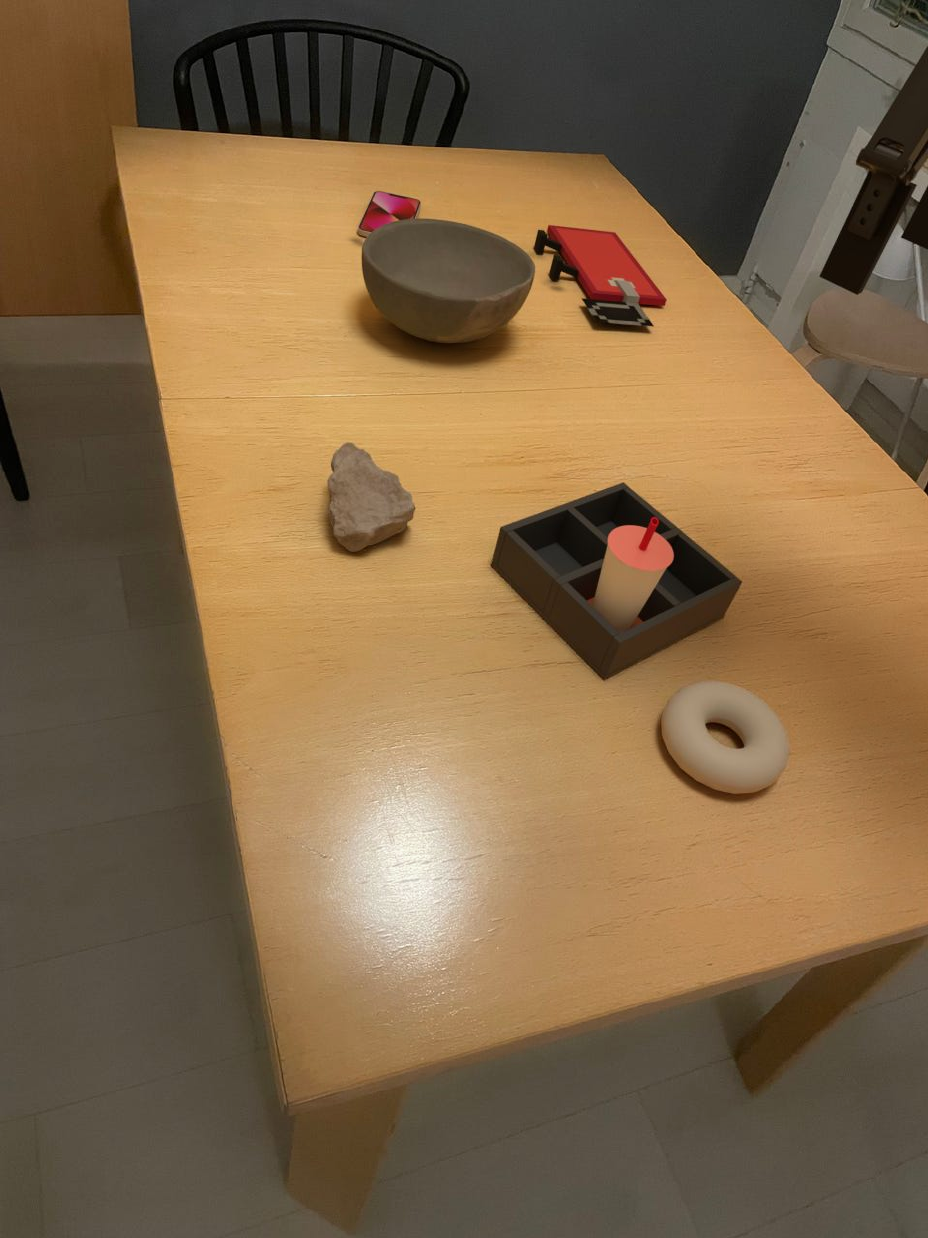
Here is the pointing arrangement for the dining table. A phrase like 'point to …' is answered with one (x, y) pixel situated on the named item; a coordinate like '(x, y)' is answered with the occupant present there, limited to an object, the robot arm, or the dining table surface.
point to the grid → (570, 570)
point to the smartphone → (387, 211)
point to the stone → (365, 500)
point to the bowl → (445, 278)
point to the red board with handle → (602, 273)
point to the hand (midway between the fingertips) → (882, 263)
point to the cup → (630, 572)
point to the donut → (715, 760)
